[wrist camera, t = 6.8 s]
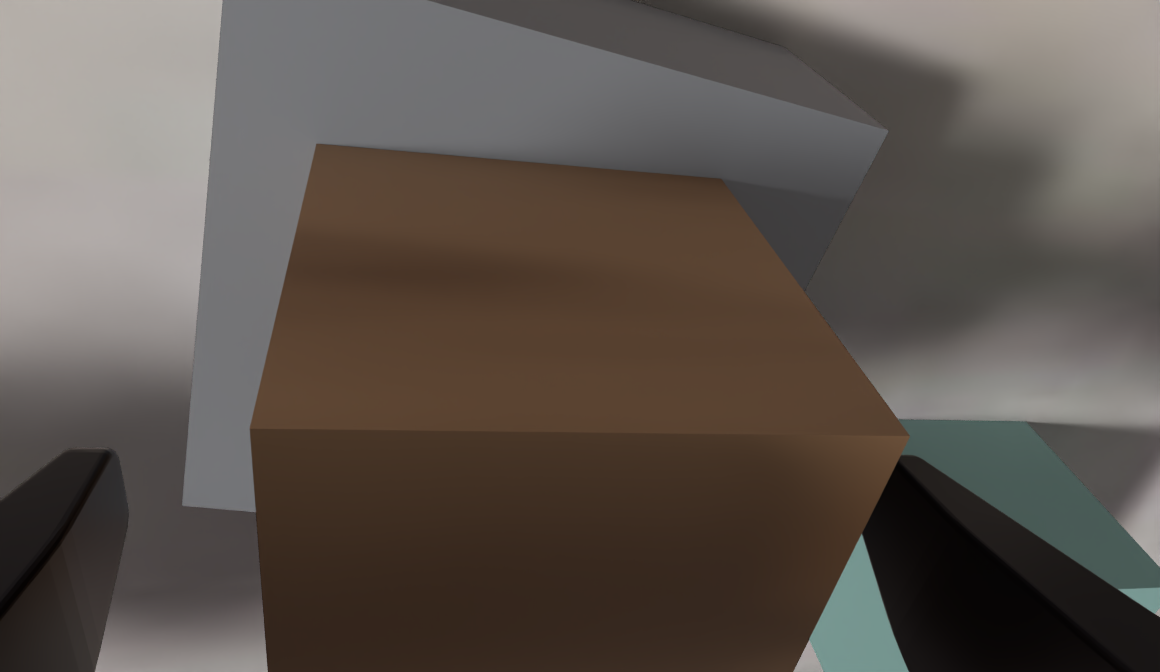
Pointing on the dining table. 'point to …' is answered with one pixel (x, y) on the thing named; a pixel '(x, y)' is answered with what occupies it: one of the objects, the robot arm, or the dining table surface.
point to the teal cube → (1015, 487)
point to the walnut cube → (550, 427)
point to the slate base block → (485, 144)
